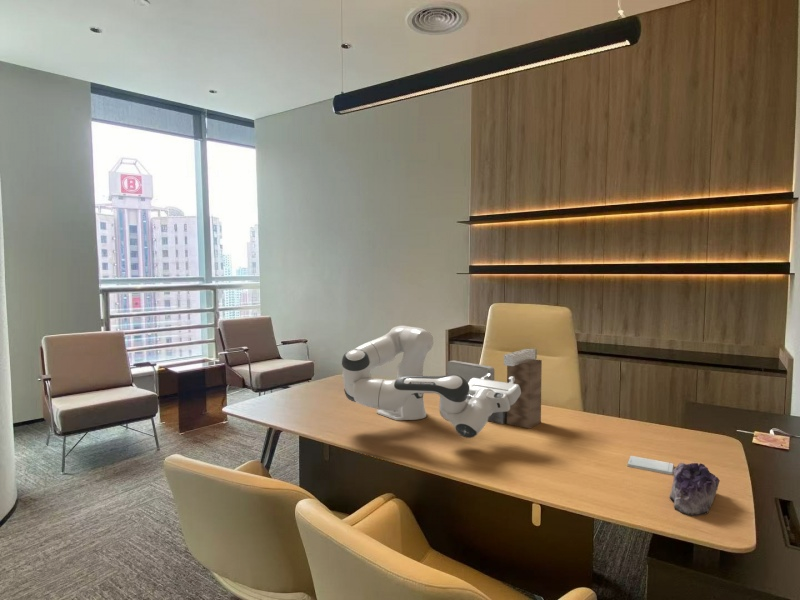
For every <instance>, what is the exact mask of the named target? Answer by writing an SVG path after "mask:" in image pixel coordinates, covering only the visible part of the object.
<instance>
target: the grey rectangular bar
mask: <svg viewBox="0 0 800 600" xmlns="http://www.w3.org/2000/svg"><path fill="white" fill-rule="evenodd" d="M537 353H538V349H537V348H524V349H520V350H518V351H517V350H516V351H514V352H510V353H506V354H503V366H507V365H508V366H515V365H518V364H522V363H525V362H528V361H531V360H534V359H536V360H538V358H537V357H538V354H537Z"/></svg>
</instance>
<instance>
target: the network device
mask: <svg viewBox="0 0 800 600" xmlns="http://www.w3.org/2000/svg"><path fill="white" fill-rule="evenodd" d="M487 373H491V374H492V378H491V380H492V381H495V368H494V367H493V366H490V365H485V364H478V363H473V362H472V363H471V362H465V361H459V360H455V359H454V360H449V361H447V362H446V375H458V376H461V377H463V378H464V379H465V380H466V381H467V382H469V381H470V379H472V378H479V379H481V378H482V377H484V376H486V375H487ZM488 380H490V379H488ZM467 399H468V400H470V399H471V398H467Z"/></svg>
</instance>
